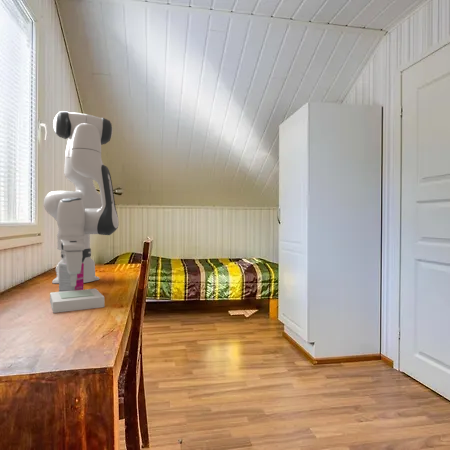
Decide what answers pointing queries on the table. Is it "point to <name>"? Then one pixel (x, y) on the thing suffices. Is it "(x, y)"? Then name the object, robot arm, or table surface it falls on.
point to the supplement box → (65, 279)
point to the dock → (76, 300)
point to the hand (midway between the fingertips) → (71, 284)
